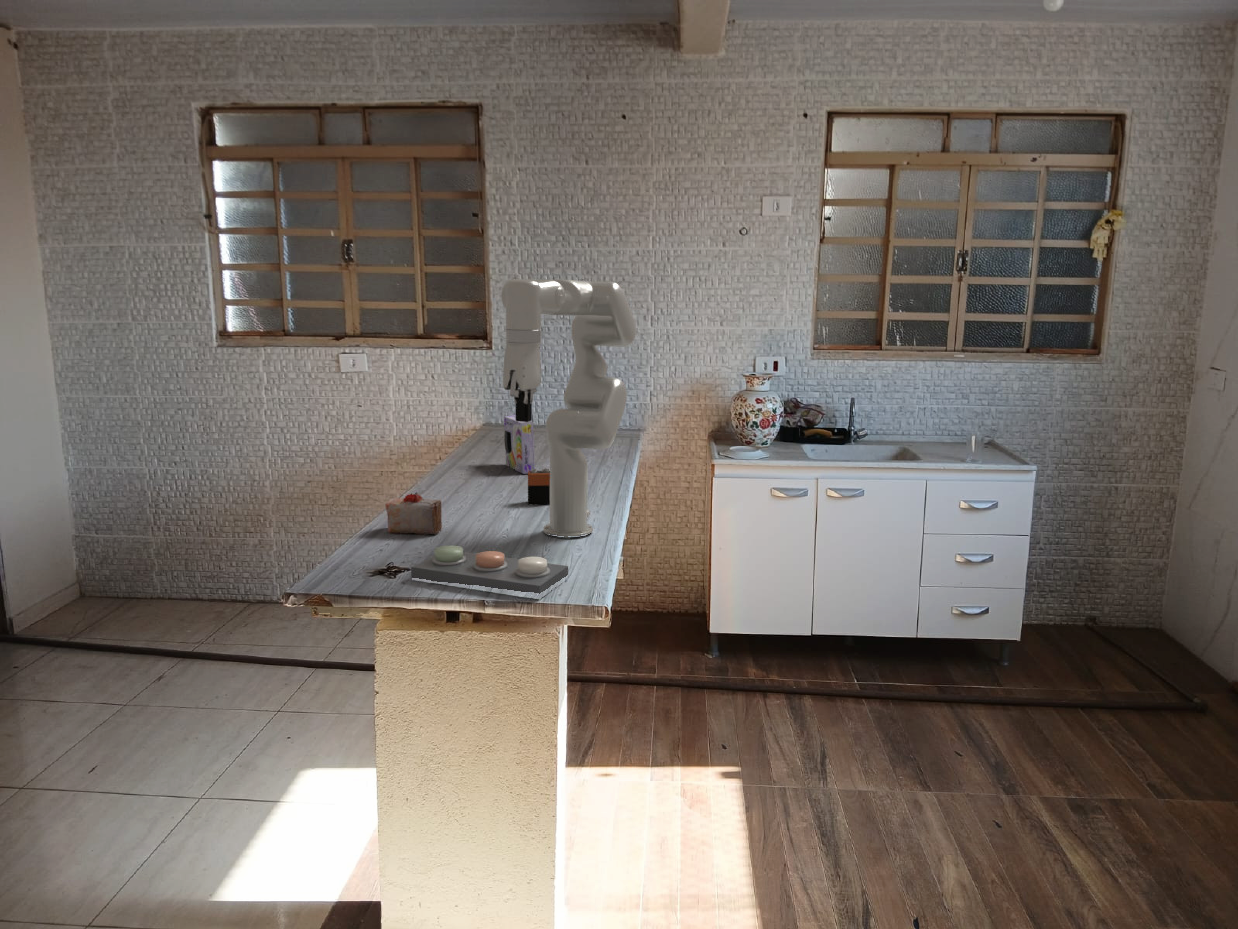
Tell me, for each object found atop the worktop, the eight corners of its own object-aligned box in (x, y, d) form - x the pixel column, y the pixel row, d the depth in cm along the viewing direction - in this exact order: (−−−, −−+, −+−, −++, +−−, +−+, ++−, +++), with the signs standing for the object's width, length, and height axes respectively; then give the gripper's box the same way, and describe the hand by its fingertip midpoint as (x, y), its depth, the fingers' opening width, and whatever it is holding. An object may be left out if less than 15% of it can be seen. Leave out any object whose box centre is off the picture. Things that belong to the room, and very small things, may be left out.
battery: (552, 504, 257) (552, 470, 255) (528, 505, 256) (528, 470, 254) (551, 501, 261) (551, 467, 259) (527, 501, 260) (527, 467, 258)
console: (446, 562, 202) (446, 547, 202) (568, 579, 192) (568, 563, 191) (411, 580, 190) (410, 564, 189) (539, 600, 179) (539, 583, 179)
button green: (444, 552, 197) (444, 544, 197) (468, 555, 195) (468, 547, 195) (429, 559, 192) (429, 551, 191) (453, 563, 190) (453, 555, 189)
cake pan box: (503, 464, 312) (502, 414, 308) (517, 463, 314) (516, 413, 310) (521, 475, 295) (520, 422, 291) (535, 474, 297) (535, 421, 293)
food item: (382, 534, 224) (381, 496, 222) (393, 526, 231) (392, 489, 230) (435, 537, 222) (434, 498, 220) (445, 528, 230) (444, 491, 228)
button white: (526, 563, 190) (526, 555, 190) (551, 567, 188) (551, 558, 188) (513, 571, 185) (513, 563, 185) (539, 575, 183) (539, 567, 182)
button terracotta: (484, 557, 194) (484, 549, 193) (509, 561, 192) (509, 553, 191) (470, 565, 188) (470, 557, 188) (495, 569, 186) (495, 560, 186)
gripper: (523, 335, 204) (523, 415, 207) (491, 338, 190) (492, 424, 194) (553, 336, 201) (553, 417, 205) (523, 340, 187) (523, 427, 191)
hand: (523, 420), depth 199 cm, fingers closed
